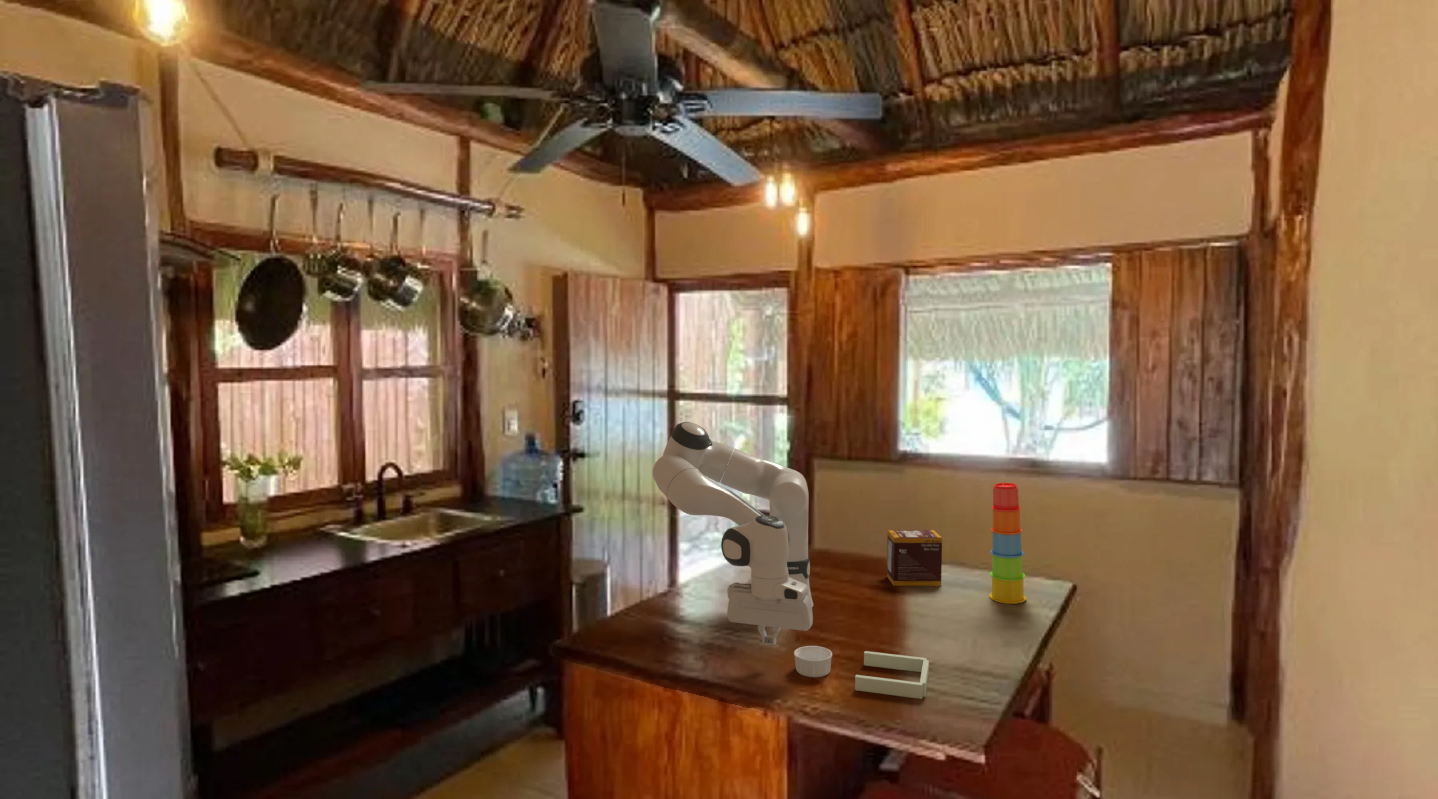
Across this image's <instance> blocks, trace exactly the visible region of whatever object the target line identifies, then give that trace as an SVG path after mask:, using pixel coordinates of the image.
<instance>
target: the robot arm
mask: <svg viewBox="0 0 1438 799" xmlns="http://www.w3.org/2000/svg"><path fill="white" fill-rule="evenodd" d="M670 435H671V436H670V437H669V439H668V442H667V444H666V445H665V448H664V450H663V452H662V453H663V454H662V456H661V457H659V458H658V459H657V460H656V461H655V463H654V465H653V467H652V477H653V478H652V479H653V480H654V482H655V484H656V486H657V487H658V489H659V490H660V492H661V493H662V494H663V495H664V496H665V497H666V498H667V499H668V501H670V503H671V504H672V505H674V507H676V508H677V509H678V510H679V511H681V512H682V513H685V514H686V515H690V516H712V517H713V516H714V517H720V518H721V517H722V518H725V519H727V520H728V519H729V520H730V521H732V522H733V523H735V525H736V526H732V527H730V528H728V529H726V530H725V531H724V533H723V535H722V538H721V543H720V545H721V553H722V555H723V557H724V559H725V561H726V562H727V563H728V564H730V565H732V566H735V567H749V568H750V571H751V572H750V578H748V580H747V581H746V583H740V582H733V583H732V584H730V585H729V586H728V587H727V598H728V604H727V614H726V618H727V619H728V620H729V622H730V623H737V624H744V625H745V624H746V625H752V626H753V625H754V626H757V630H758V632H759V633H760V635H761V638H762V639H761V640H762V642H761V643H762V644H763V645H772V646H775V645H776V644H777V637H778V634H779V632H780V631H781V629H789V630H795V631H796V630H798V631H808V630H810V628H811V627H812V626H813V622H814V621H813V620H814V616H813V607H814V602H813V598H812V592H811V587H810V579H809V578H810V574H811V572H810V570H811V569H810V568H811V567H810V566H811V565H810V564H811V562H810V557H809V504H810V503H809V502H810V501H809V500H810V499H809V495H810V494H809V489H808V482H807V480H806V478H805V477H804V475H803V474H802V473H801V472H799V471H797V470H795V469H792V468H789V467H788V466H787V467H786V466H784V465H781V464H779V463H775V462H772V461H768V460H766V459H762V458H759V457H757V456H755V455H752V454H749V453H748V452H745V451H742V450H740V449H738V448H734V447H732V446H730V445H728V444H725V443H720V442H718V441H713V440H711V439H710V435H709V434H708V432H707V431H706V430H705V429H704V427H702V426H700V425H698V424H696V423H693V422H690V421H683V422H679V423H677V424H676V425H675V427H674V428H673V430H672V431H671V433H670ZM718 483H719V484H718ZM720 484H722V485H723V486H726V487H723V486H722V485H720ZM728 488H730V489H733V490H735V491H737V492H740V493H742V494H746V495H750V496H755V497H759V498H762V499H765V500H768V501H769V515H766V514H764V513H763V512H761V511H760V510H759V509H757V508H756V507H755V506H753V505H752V504H750V503H749V502H748V501H746V499H744V498H742V497H741V496H739V495H738V494H736V493H735V492H733V491H732V490H730V489H728ZM766 627H772V631H773V632H774V633H773V634H767V632H766V629H765V628H766Z"/></svg>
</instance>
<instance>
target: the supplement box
mask: <svg viewBox="0 0 1438 799" xmlns="http://www.w3.org/2000/svg"><path fill="white" fill-rule="evenodd" d="M886 540H887V546H886V547H887V548H886V551H887V552H886V553H887V555H886V560H887V561H886V578H888V580H889V581H890V583H891V585H892V586H893V587H894V586H897V587H899V586H900V587H902V586H903V587H906V586H907V587H909V586H910V587H914V586H915V587H941V586H942V567H943V566H942V563H943V537H942V536H941V535H940V534H939V533H937V532H936V530H934V529H924V530H923V529H921V530H918V529H916V530H915V529H910V530H909V529H904V530H903V529H897V530H894V529H893V530H890V529H888V530H887V537H886Z"/></svg>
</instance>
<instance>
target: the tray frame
mask: <svg viewBox="0 0 1438 799" xmlns="http://www.w3.org/2000/svg"><path fill="white" fill-rule="evenodd" d="M863 658H864V659H863V665H864V666H867V667H874V668H876V667H877V668H882V669H883V668H884V669H892V670H899V671H900V670H902V671H909V672H915V673H916V672H917V673H920V679H919V682H917V681H909V680H902V679H893V678H885V677H878V676H871V675H870V676H868V675H863V674H862V675H860V674H855V677H854V679H855V680H854V683H855V684H854V686H855V687H854V690H855V691H860V692H867V693H875V694H883V695H890V696H895V697H905V698H912V699H920V700H922V699H923V698H926V695H927V688H928V680H929V675H930V659H929V660H928V659H927V658H926V657H922V656H921V657H918V656H913V655H912V656H911V655H902V654H892V653H884V652H877V651H868V650H865V651H864V652H863Z"/></svg>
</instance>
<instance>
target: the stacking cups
mask: <svg viewBox="0 0 1438 799" xmlns="http://www.w3.org/2000/svg"><path fill="white" fill-rule="evenodd" d="M992 497H993V498H992V501H993V502H992V506H991V509H992V527H991V528H990V531H991V532H992V549H991V550H990V554H992V556H991V557H992V560H991V561H992V562H991V564H992V566H991V567H992V568H991V569H992V571H990V573H989V575H990V576H991V592H990V594H989V598H990V600H992V601H994V602H997V603H1000V604H1007V605H1016V604H1022V603H1024V602H1026V600H1027V597H1026V596H1025V594H1024V593H1025V592H1024V590H1025V589H1024V588H1025V587H1024V579H1025V578H1026V575H1025V573H1024V572H1023V571H1024V570H1023V556H1024V551H1023V550H1022V532H1023V529H1022V528H1021V518H1020V517H1021V516H1020V515H1021V514H1020V510H1021V507H1020V505H1019V501H1020V500H1019V488H1018V486H1017V484H1016V483H1012V482H1011V483H1010V482H998V483H995V484H994V485H993V487H992Z"/></svg>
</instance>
